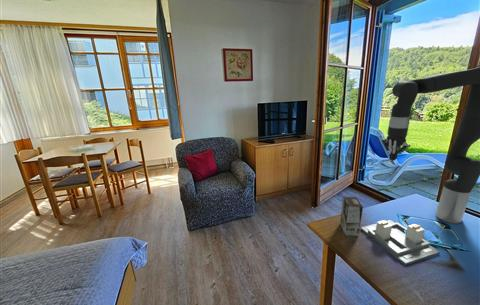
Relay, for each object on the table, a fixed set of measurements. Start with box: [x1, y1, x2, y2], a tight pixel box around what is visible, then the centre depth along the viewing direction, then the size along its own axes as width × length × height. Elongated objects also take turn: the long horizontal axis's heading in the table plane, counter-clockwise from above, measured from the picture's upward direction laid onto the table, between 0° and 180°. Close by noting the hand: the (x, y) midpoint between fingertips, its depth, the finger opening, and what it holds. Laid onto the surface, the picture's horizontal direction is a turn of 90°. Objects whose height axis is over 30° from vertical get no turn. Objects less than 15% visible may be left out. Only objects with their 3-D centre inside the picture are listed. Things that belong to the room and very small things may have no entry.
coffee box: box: [339, 196, 364, 237], centre depth 98 cm, size 9×6×16 cm
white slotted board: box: [360, 219, 441, 266], centre depth 91 cm, size 18×22×3 cm
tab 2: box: [405, 223, 426, 244], centre depth 88 cm, size 4×4×8 cm
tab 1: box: [375, 219, 392, 240], centre depth 92 cm, size 4×4×8 cm
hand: (392, 159), depth 101 cm, fingers closed
